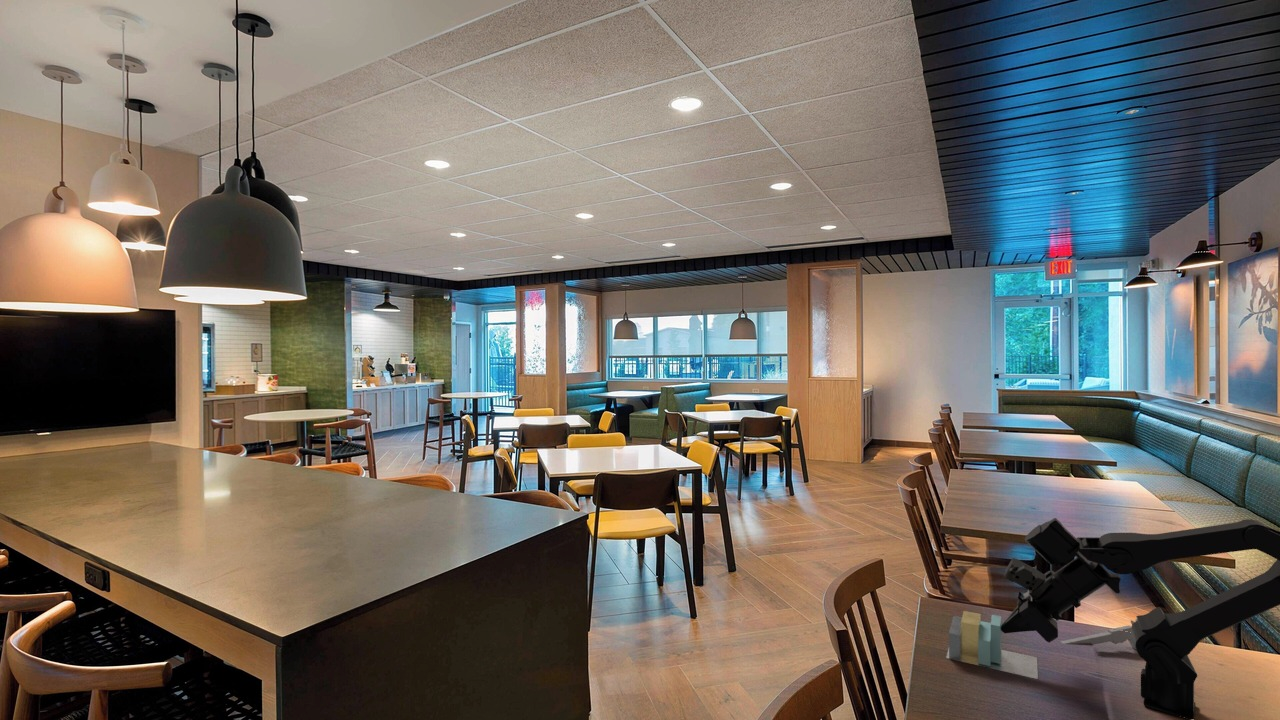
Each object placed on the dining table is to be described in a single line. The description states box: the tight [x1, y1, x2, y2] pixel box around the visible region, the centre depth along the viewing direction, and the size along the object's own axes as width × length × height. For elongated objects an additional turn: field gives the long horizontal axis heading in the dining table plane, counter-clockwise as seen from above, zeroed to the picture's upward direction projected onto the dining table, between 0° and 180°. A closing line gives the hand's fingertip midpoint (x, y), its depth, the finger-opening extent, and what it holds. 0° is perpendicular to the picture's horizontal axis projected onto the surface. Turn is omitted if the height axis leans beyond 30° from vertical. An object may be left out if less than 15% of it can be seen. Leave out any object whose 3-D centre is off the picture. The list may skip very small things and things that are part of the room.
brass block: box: [961, 610, 982, 661], centre depth 120 cm, size 3×6×7 cm, turn 148°
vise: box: [945, 615, 1039, 680], centre depth 119 cm, size 15×9×6 cm, turn 57°
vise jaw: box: [978, 614, 1002, 666], centre depth 119 cm, size 4×9×7 cm, turn 147°
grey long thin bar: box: [1060, 618, 1137, 650], centre depth 124 cm, size 20×1×6 cm, turn 90°
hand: (1002, 630), depth 117 cm, fingers closed, pressing on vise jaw
